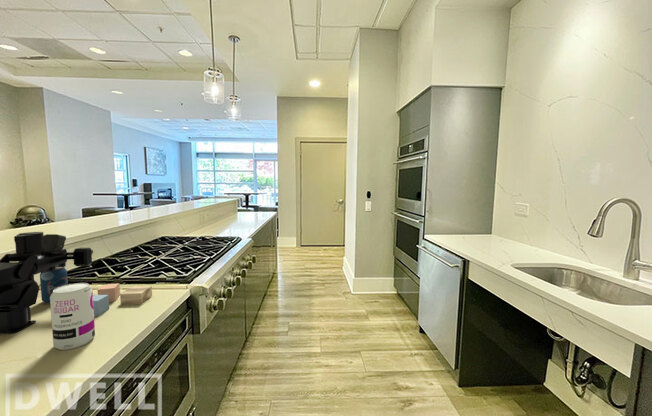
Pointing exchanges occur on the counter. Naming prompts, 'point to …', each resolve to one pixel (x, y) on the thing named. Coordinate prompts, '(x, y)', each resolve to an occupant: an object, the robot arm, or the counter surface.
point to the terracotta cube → (110, 291)
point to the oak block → (136, 295)
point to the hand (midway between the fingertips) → (79, 251)
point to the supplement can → (72, 315)
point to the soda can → (52, 282)
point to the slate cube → (100, 304)
